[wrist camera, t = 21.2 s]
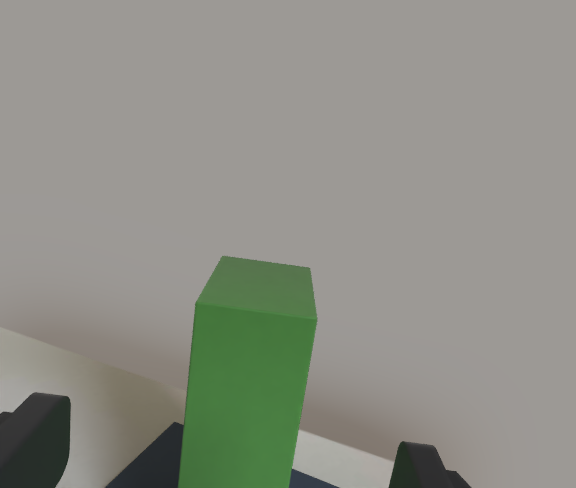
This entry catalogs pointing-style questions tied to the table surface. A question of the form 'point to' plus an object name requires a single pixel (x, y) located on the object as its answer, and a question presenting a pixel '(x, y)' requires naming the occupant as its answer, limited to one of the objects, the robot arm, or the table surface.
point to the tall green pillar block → (247, 375)
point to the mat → (178, 466)
